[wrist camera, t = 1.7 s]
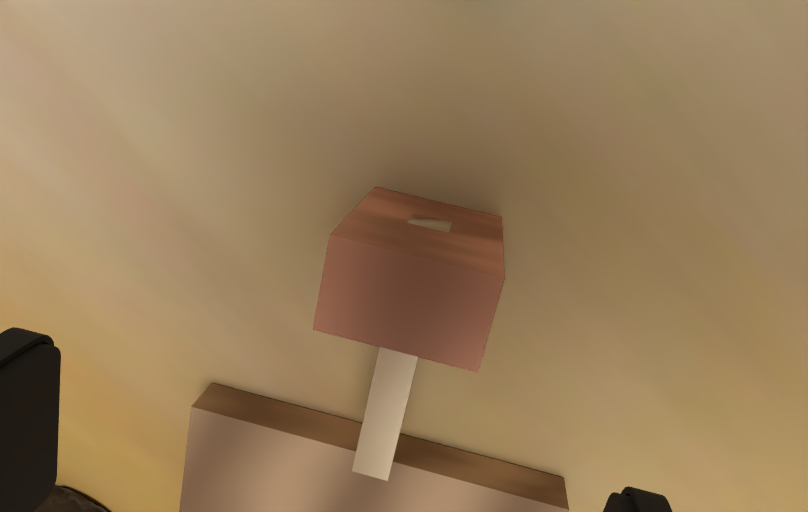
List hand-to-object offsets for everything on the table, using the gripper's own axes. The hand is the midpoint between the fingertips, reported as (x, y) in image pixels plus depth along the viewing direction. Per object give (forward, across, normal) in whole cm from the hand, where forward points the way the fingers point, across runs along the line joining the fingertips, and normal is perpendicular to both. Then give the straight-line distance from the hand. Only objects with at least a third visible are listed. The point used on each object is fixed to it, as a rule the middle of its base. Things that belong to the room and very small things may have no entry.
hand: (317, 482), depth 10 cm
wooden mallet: (+15, -1, +3) cm, 15 cm away
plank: (+15, -1, +15) cm, 21 cm away
